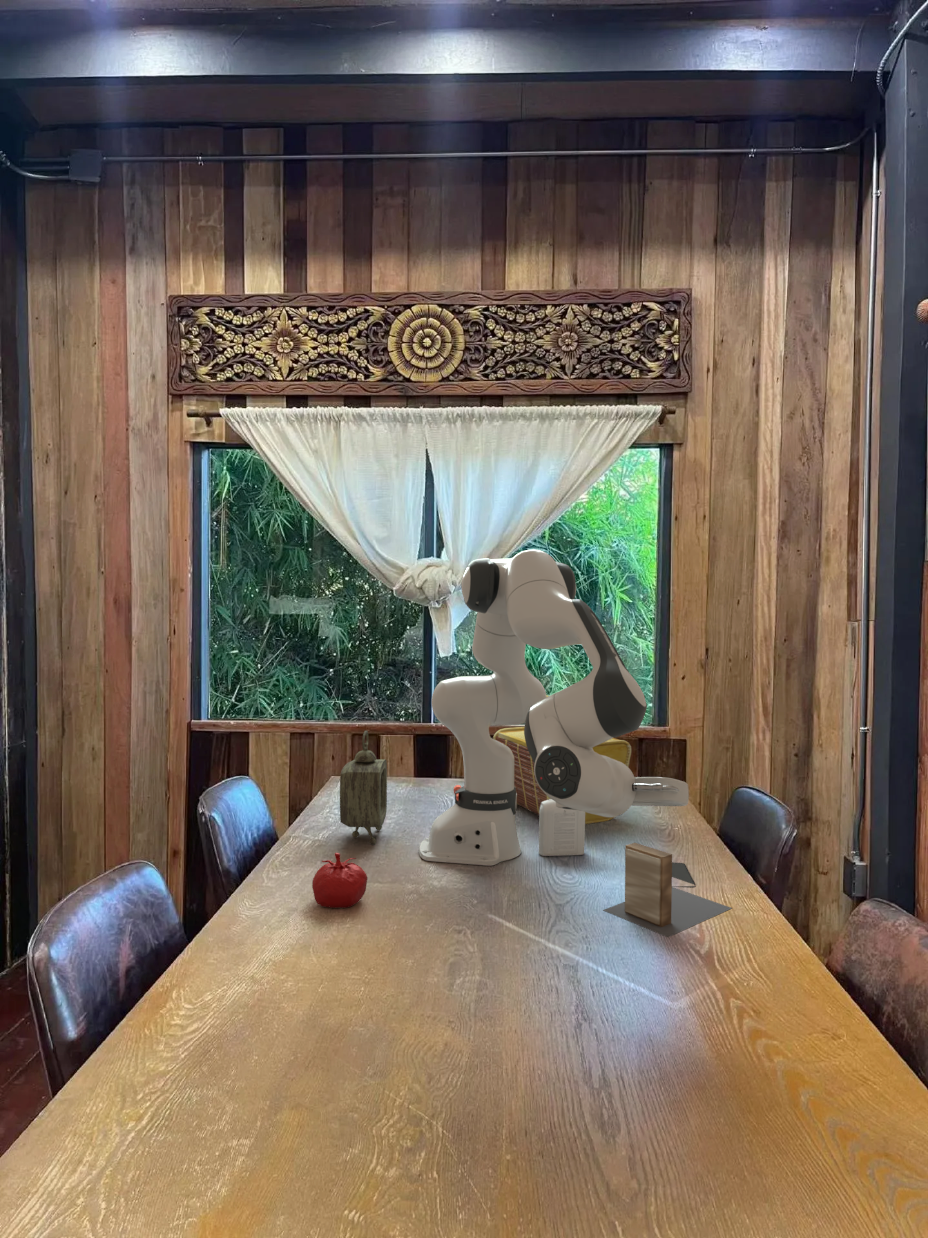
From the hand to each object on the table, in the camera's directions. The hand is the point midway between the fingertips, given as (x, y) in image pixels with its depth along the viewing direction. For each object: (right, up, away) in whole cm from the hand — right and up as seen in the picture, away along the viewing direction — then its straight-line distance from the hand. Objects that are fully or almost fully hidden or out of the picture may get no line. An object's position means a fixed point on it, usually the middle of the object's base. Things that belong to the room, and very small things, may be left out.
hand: (640, 798), depth 130 cm
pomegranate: (-52, -23, +14) cm, 59 cm away
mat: (+7, -23, +10) cm, 26 cm away
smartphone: (+13, -23, +28) cm, 38 cm away
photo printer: (-8, -22, +41) cm, 47 cm away
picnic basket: (-5, -21, +74) cm, 77 cm away
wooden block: (+2, -22, +6) cm, 23 cm away
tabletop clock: (-53, -21, +52) cm, 77 cm away
